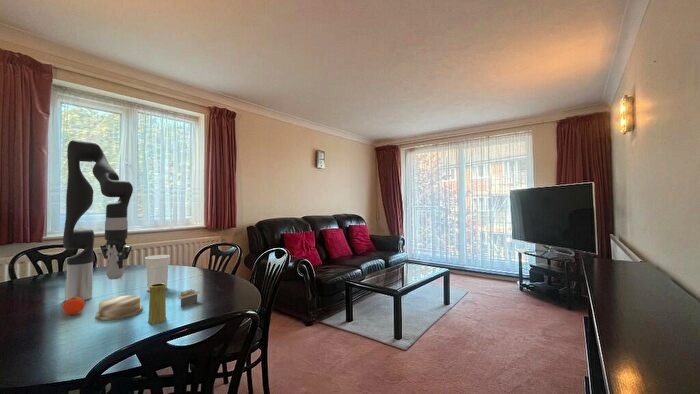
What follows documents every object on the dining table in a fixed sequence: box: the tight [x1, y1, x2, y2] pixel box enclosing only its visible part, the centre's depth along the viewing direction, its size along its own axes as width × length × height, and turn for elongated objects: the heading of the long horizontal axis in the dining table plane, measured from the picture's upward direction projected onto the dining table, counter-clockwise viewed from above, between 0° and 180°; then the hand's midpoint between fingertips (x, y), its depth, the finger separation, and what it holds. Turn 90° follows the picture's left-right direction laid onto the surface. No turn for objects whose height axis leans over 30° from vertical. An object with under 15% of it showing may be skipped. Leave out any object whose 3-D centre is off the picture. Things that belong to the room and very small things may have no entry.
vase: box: [147, 283, 167, 325], centre depth 119 cm, size 6×6×14 cm
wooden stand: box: [94, 294, 144, 321], centre depth 127 cm, size 16×16×5 cm
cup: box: [144, 254, 171, 293], centre depth 159 cm, size 11×11×17 cm
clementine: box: [62, 297, 86, 316], centre depth 125 cm, size 8×7×7 cm
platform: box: [177, 288, 201, 308], centre depth 138 cm, size 12×18×7 cm, turn 152°
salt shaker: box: [106, 248, 125, 280], centre depth 125 cm, size 6×6×13 cm
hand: (115, 269), depth 125 cm, fingers closed on salt shaker, 3 cm apart
